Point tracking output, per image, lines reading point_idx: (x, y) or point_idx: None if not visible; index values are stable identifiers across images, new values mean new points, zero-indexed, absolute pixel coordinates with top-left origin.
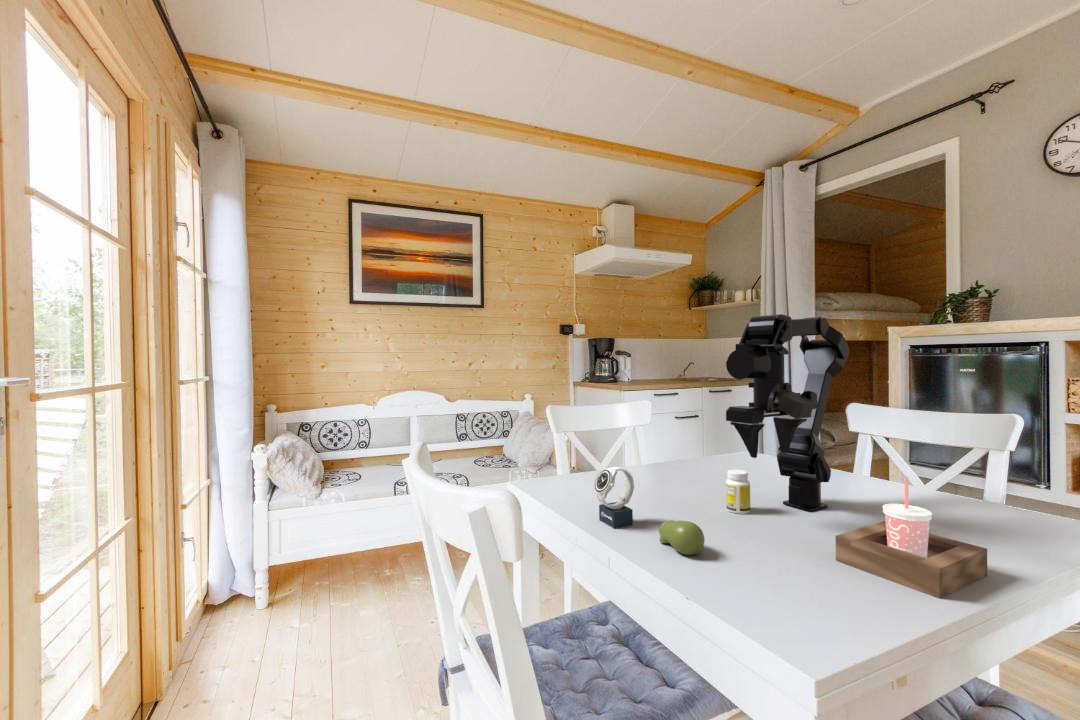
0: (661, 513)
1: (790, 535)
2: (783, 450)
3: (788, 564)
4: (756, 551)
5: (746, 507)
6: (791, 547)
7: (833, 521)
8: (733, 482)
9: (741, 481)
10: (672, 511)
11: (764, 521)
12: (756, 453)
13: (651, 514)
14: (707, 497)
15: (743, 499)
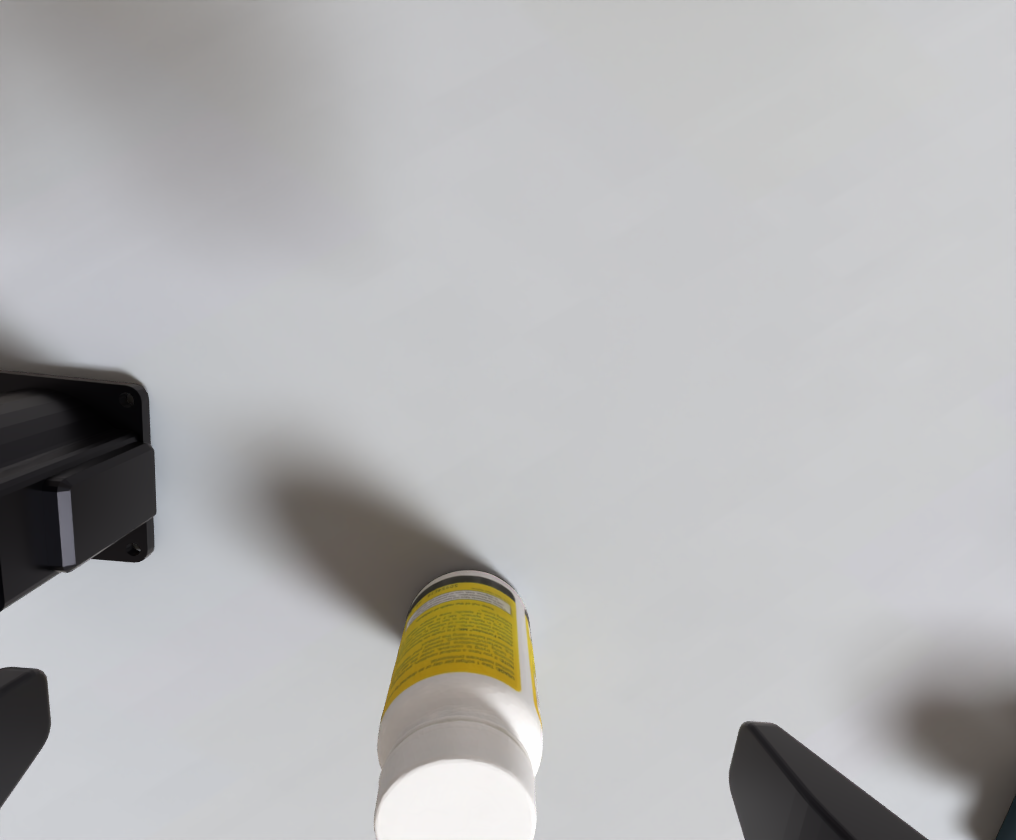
0: None
1: (606, 248)
2: (19, 735)
3: (1000, 35)
4: (948, 230)
5: (481, 587)
6: (771, 149)
7: (179, 218)
8: (531, 747)
9: (493, 719)
10: None
11: (512, 450)
12: (812, 762)
13: None
14: None
15: (498, 622)
